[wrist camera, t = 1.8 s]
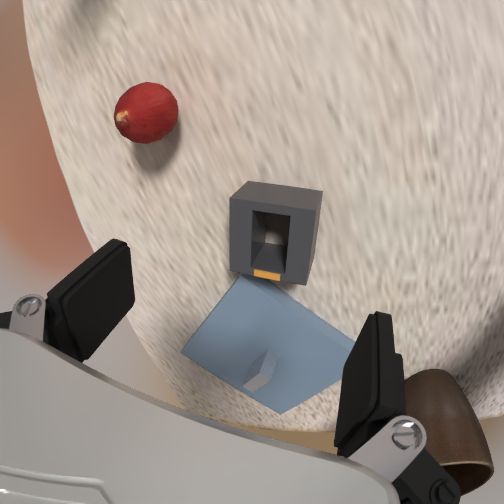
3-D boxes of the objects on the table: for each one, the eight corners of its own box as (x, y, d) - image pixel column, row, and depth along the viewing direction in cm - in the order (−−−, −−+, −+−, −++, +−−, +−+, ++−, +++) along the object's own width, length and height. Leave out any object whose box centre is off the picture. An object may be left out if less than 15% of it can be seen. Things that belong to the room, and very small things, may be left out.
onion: (162, 146, 31) (113, 166, 25) (135, 104, 30) (83, 115, 23) (203, 114, 29) (157, 126, 22) (173, 70, 27) (121, 71, 20)
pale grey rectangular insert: (278, 356, 38) (270, 380, 35) (261, 369, 40) (252, 392, 37) (268, 349, 38) (258, 373, 35) (251, 363, 40) (242, 386, 37)
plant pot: (485, 339, 30) (510, 450, 17) (469, 406, 36) (476, 496, 23) (374, 356, 36) (363, 472, 23) (380, 418, 42) (369, 510, 29)
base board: (367, 350, 36) (366, 362, 35) (283, 404, 46) (280, 414, 45) (246, 265, 35) (240, 275, 34) (186, 343, 45) (180, 352, 44)
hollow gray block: (322, 191, 29) (316, 211, 25) (313, 258, 32) (305, 286, 28) (248, 180, 31) (228, 198, 26) (246, 246, 34) (229, 271, 30)
